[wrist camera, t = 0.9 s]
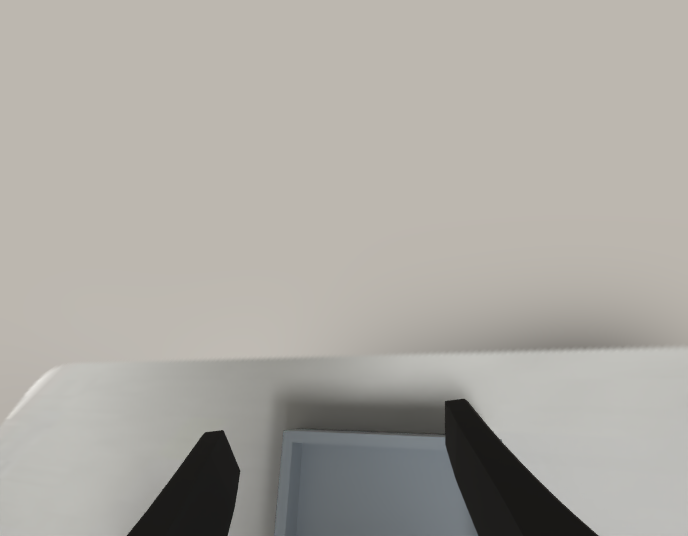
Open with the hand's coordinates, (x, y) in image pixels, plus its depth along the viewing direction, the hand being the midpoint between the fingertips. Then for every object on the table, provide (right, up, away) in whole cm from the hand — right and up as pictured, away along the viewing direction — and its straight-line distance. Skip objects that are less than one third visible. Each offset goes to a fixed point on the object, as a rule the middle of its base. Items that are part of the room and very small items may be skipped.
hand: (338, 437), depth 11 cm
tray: (+3, -11, +11) cm, 16 cm away
